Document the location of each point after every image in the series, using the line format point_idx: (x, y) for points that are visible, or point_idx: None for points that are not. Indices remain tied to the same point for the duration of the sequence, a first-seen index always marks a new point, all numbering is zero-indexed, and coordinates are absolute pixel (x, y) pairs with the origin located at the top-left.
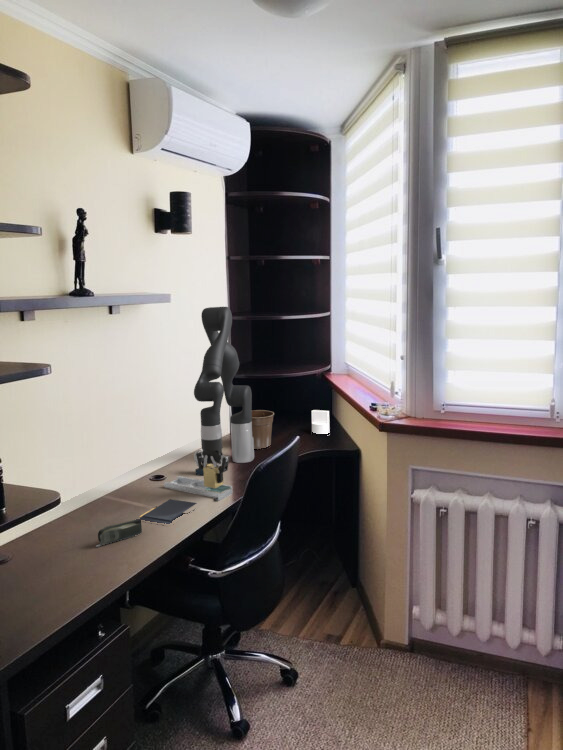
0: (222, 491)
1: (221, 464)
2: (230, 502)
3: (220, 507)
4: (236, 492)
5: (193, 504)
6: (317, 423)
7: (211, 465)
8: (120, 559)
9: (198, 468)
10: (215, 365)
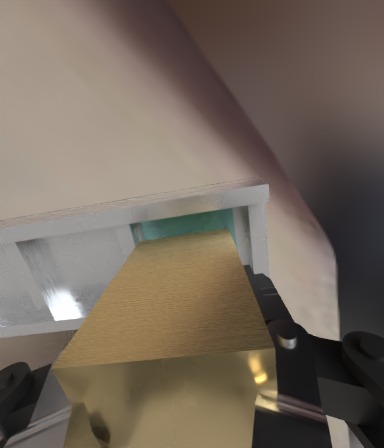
0: (252, 253)
1: (326, 445)
2: (319, 261)
3: (314, 315)
4: (259, 148)
5: None
6: None
7: (115, 409)
8: None
9: None
10: None
